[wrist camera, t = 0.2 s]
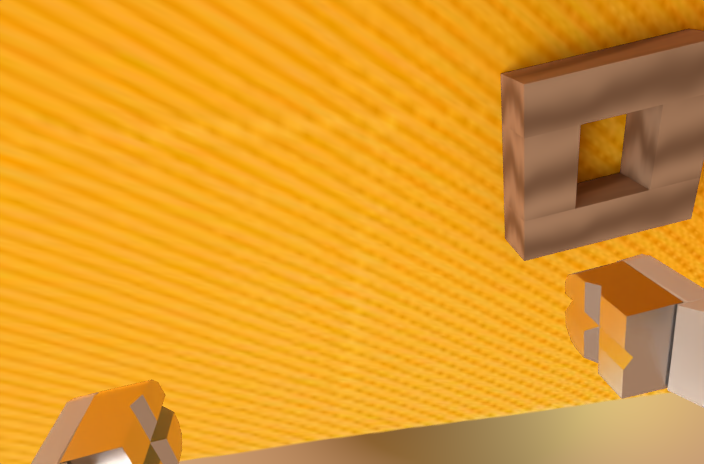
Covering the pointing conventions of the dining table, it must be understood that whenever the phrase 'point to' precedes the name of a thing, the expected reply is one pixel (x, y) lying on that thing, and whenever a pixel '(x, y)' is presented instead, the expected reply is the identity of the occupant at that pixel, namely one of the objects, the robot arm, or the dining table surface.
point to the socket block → (638, 148)
